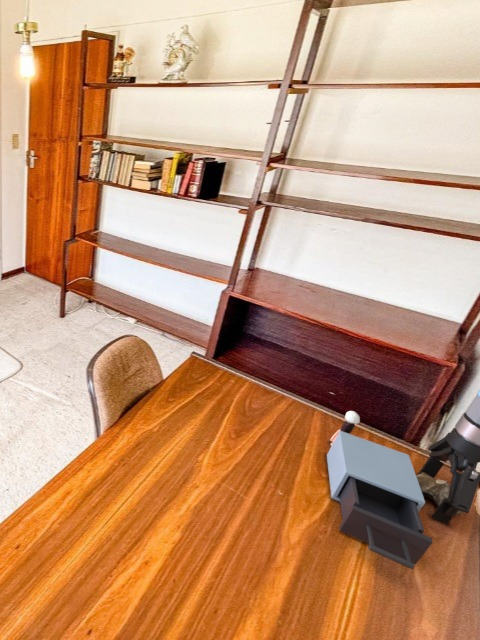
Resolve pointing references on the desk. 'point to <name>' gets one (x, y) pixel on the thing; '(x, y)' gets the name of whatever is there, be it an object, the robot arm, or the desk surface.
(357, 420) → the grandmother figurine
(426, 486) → the fossilized seashell
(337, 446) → the cabinet
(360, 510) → the drawer
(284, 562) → the desk surface
